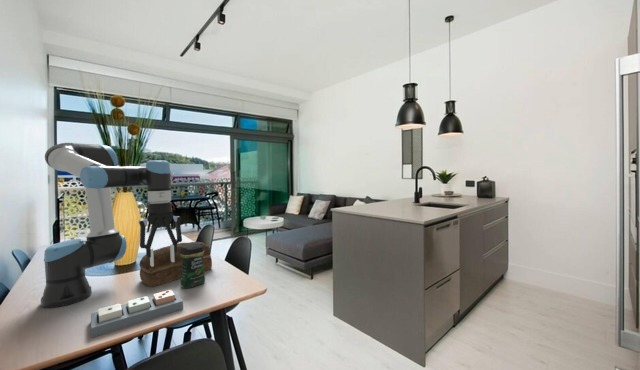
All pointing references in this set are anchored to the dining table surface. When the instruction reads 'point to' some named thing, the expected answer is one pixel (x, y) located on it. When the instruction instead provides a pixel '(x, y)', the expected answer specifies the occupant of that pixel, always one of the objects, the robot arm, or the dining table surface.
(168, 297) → the button three
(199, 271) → the coffee jar
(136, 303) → the button two
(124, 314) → the console
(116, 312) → the button one
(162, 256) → the bread
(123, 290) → the dining table surface
